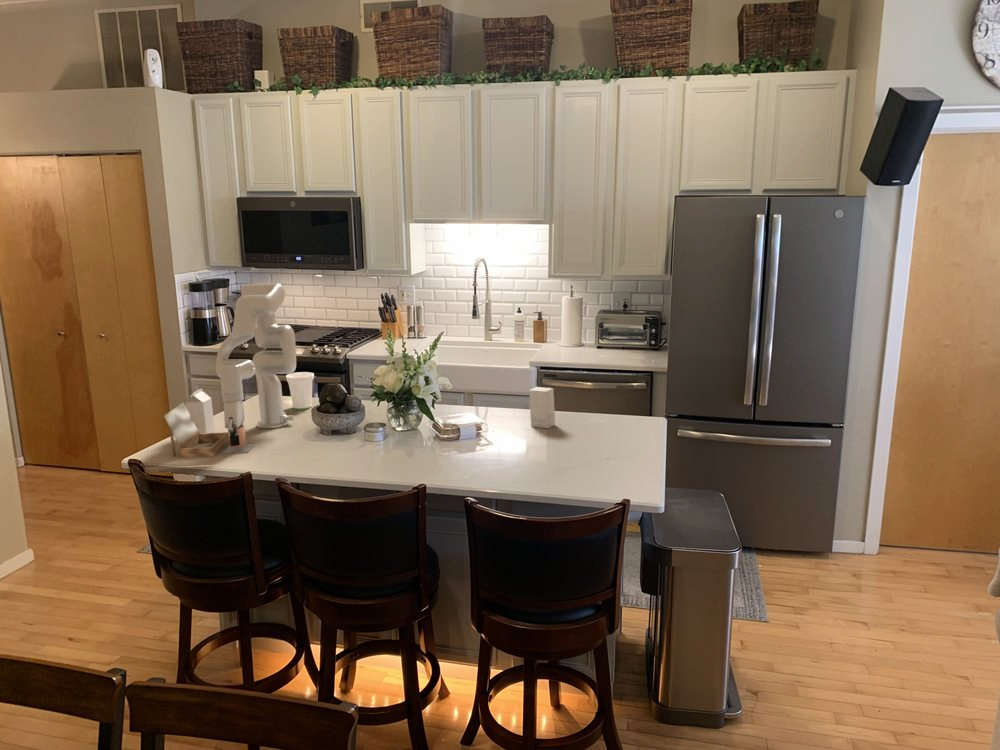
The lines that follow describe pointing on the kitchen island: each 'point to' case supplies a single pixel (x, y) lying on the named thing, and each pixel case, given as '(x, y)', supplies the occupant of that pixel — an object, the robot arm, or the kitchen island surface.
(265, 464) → the kitchen island surface
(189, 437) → the box
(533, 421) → the skincare box
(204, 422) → the milk carton
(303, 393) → the cup
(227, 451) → the slate tile
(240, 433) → the pot
